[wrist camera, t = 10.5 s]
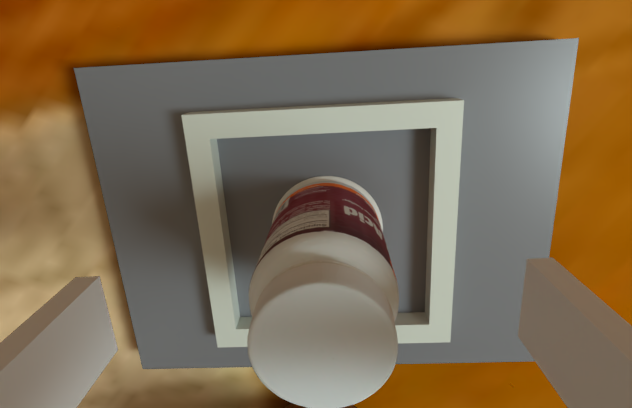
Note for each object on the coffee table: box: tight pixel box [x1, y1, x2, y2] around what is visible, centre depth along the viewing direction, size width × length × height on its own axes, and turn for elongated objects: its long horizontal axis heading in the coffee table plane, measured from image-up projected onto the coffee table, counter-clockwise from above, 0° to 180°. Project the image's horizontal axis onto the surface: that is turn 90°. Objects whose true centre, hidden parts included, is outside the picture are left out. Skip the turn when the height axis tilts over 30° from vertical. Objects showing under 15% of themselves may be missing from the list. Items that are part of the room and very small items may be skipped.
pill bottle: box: [247, 181, 399, 408], centre depth 15 cm, size 5×5×8 cm
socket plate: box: [74, 38, 579, 369], centre depth 19 cm, size 20×15×2 cm
